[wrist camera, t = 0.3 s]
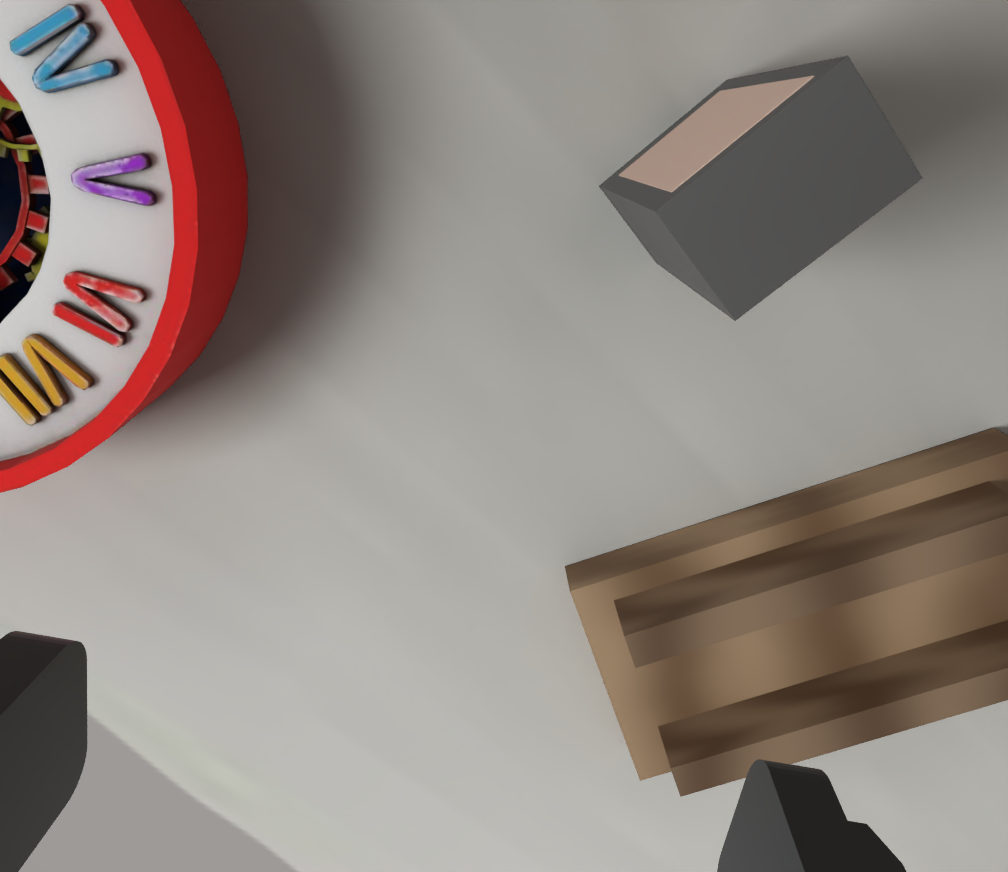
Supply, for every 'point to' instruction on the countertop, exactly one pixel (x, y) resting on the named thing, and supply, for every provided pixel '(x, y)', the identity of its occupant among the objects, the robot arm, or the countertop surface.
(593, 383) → the countertop surface
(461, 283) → the countertop surface
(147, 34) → the toy clock
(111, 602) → the countertop surface
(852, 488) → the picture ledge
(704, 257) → the dark grey cuboid
